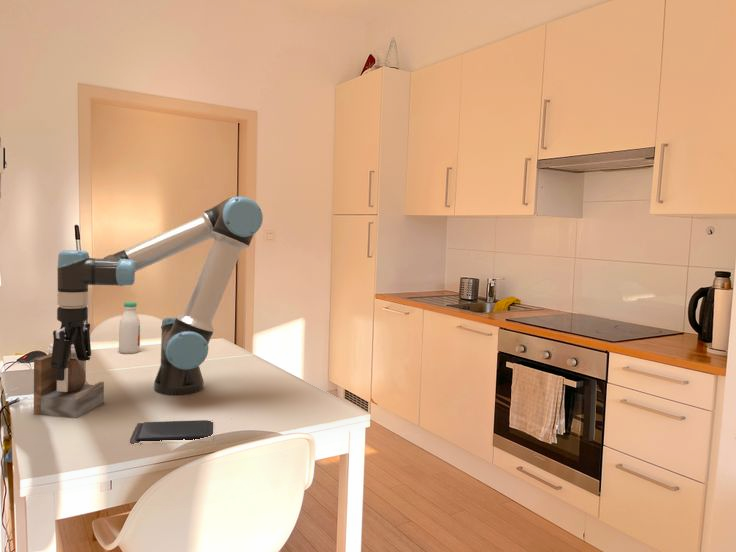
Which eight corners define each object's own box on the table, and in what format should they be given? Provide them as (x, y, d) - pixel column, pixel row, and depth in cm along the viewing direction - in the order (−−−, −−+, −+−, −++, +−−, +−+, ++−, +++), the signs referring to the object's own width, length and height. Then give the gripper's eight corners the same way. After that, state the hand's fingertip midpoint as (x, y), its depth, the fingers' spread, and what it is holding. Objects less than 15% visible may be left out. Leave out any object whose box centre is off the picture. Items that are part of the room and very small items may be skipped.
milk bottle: (134, 354, 225) (135, 304, 223) (115, 353, 225) (116, 303, 223) (142, 350, 232) (143, 301, 231) (123, 349, 233) (124, 300, 231)
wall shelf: (103, 402, 166) (104, 351, 165) (76, 417, 152) (77, 362, 151) (63, 399, 167) (64, 348, 165) (33, 414, 153) (34, 359, 152)
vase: (66, 395, 155) (67, 364, 154) (52, 390, 158) (53, 359, 158) (90, 390, 161) (91, 359, 160) (76, 385, 164) (77, 355, 163)
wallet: (127, 439, 137) (137, 418, 151) (127, 447, 137) (137, 425, 152) (213, 437, 141) (215, 416, 156) (213, 444, 141) (215, 423, 156)
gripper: (81, 300, 168) (79, 376, 170) (35, 310, 147) (34, 396, 149) (105, 302, 167) (104, 378, 169) (63, 312, 147) (61, 399, 149)
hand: (71, 387), depth 159 cm, fingers open, 8 cm apart
